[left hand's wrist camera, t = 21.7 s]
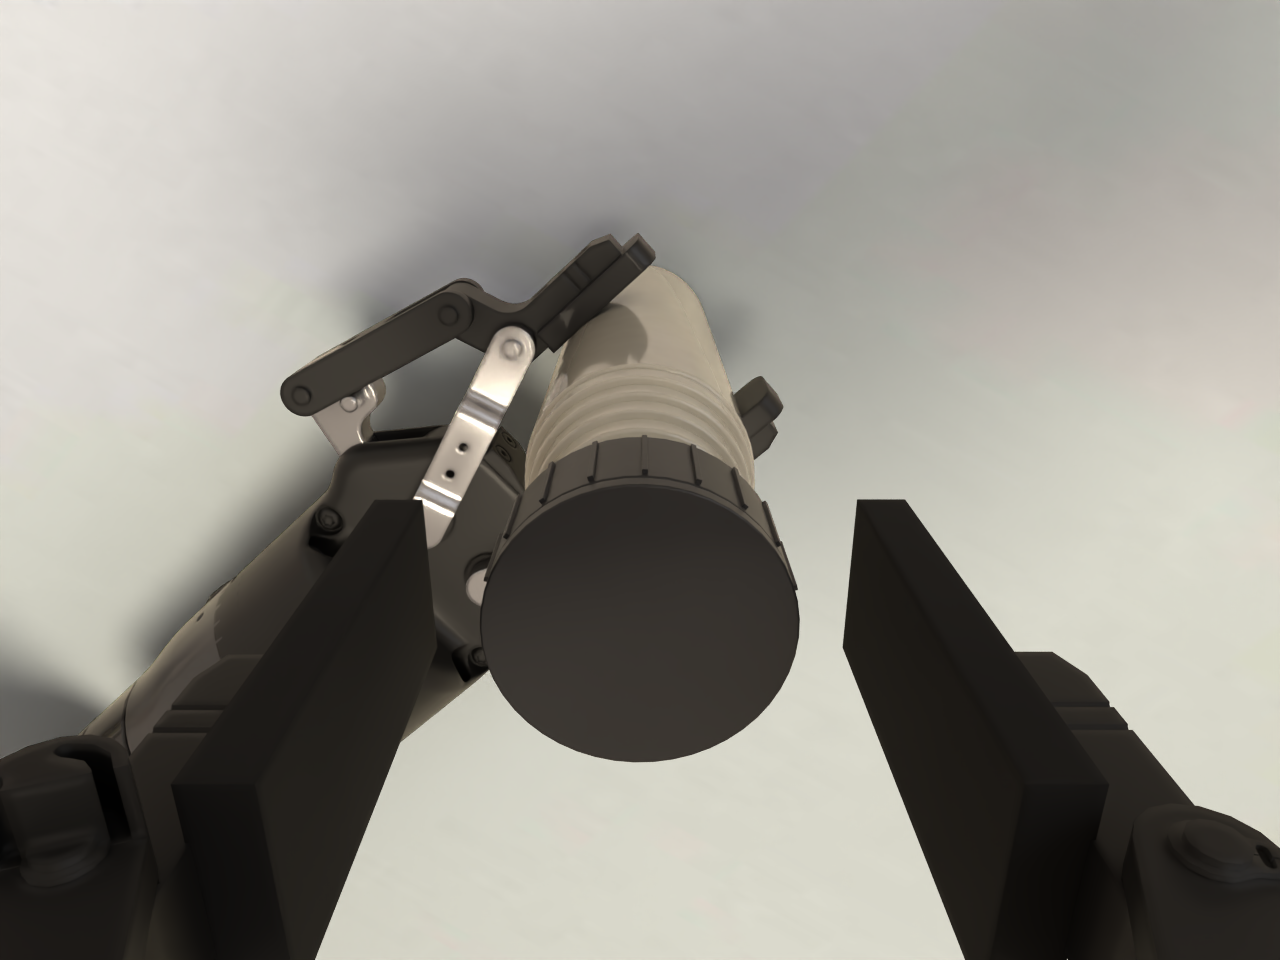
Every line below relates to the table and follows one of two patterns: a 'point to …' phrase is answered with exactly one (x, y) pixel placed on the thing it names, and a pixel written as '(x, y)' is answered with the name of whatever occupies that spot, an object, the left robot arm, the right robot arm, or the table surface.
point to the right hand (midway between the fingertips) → (708, 321)
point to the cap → (639, 602)
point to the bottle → (642, 380)
